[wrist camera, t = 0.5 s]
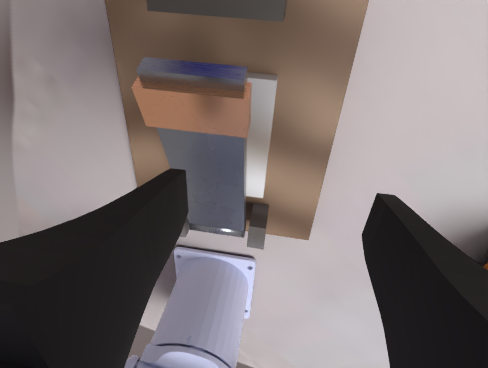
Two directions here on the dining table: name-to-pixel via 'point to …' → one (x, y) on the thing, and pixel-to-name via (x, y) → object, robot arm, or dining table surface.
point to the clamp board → (263, 89)
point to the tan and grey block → (202, 134)
